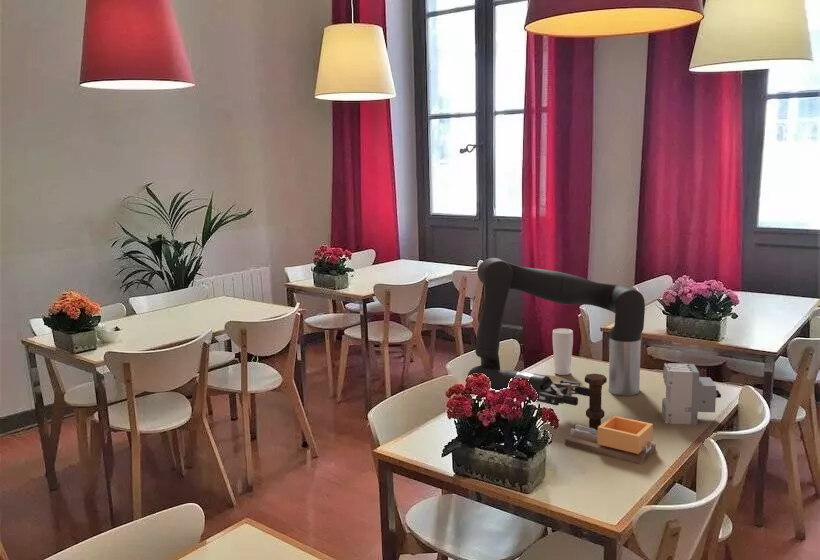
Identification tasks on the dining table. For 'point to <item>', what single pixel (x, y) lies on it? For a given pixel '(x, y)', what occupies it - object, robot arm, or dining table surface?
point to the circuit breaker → (686, 394)
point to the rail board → (607, 449)
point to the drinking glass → (562, 350)
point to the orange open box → (625, 434)
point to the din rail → (596, 435)
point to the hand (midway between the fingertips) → (584, 397)
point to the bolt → (595, 399)
